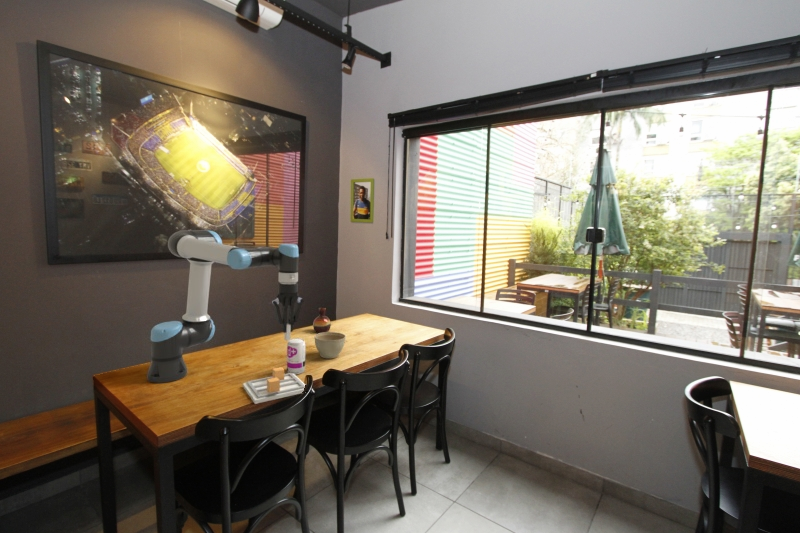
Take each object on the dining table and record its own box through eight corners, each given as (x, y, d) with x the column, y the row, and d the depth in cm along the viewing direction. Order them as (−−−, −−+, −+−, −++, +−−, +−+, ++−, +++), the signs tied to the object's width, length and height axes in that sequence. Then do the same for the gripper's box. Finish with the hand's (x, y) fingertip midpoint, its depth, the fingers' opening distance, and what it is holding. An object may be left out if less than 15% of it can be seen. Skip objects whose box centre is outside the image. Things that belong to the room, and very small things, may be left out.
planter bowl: (351, 356, 205) (351, 336, 203) (326, 363, 193) (326, 342, 192) (332, 348, 216) (333, 329, 214) (307, 355, 204) (308, 335, 203)
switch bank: (255, 404, 148) (255, 397, 148) (242, 386, 163) (242, 380, 162) (309, 391, 161) (309, 385, 160) (293, 376, 175) (293, 371, 175)
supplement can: (295, 376, 176) (296, 344, 174) (283, 372, 180) (283, 340, 178) (308, 371, 182) (309, 340, 181) (296, 367, 187) (296, 336, 185)
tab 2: (269, 394, 153) (269, 382, 153) (267, 390, 156) (267, 379, 156) (279, 391, 156) (279, 380, 155) (276, 388, 158) (276, 377, 158)
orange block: (275, 382, 165) (275, 371, 164) (272, 379, 167) (272, 368, 167) (284, 380, 167) (284, 369, 166) (281, 377, 170) (281, 366, 169)
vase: (328, 334, 242) (329, 310, 240) (311, 333, 242) (311, 309, 240) (332, 329, 253) (332, 306, 251) (315, 328, 253) (315, 305, 251)
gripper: (275, 285, 147) (274, 344, 150) (307, 283, 155) (306, 340, 158) (268, 282, 154) (268, 339, 156) (300, 280, 161) (299, 335, 164)
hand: (287, 339), depth 157 cm, fingers closed
